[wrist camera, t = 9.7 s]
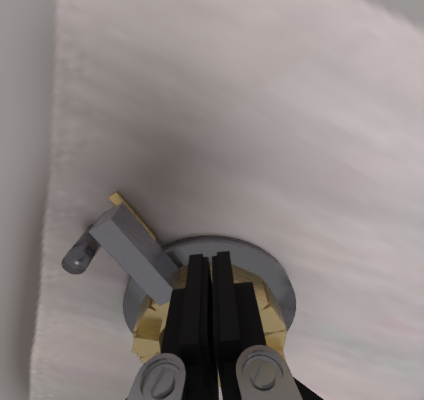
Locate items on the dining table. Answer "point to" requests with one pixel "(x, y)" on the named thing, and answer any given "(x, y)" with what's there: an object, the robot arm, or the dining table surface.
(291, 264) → the dining table surface
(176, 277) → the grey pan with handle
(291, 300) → the housing
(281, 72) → the dining table surface
